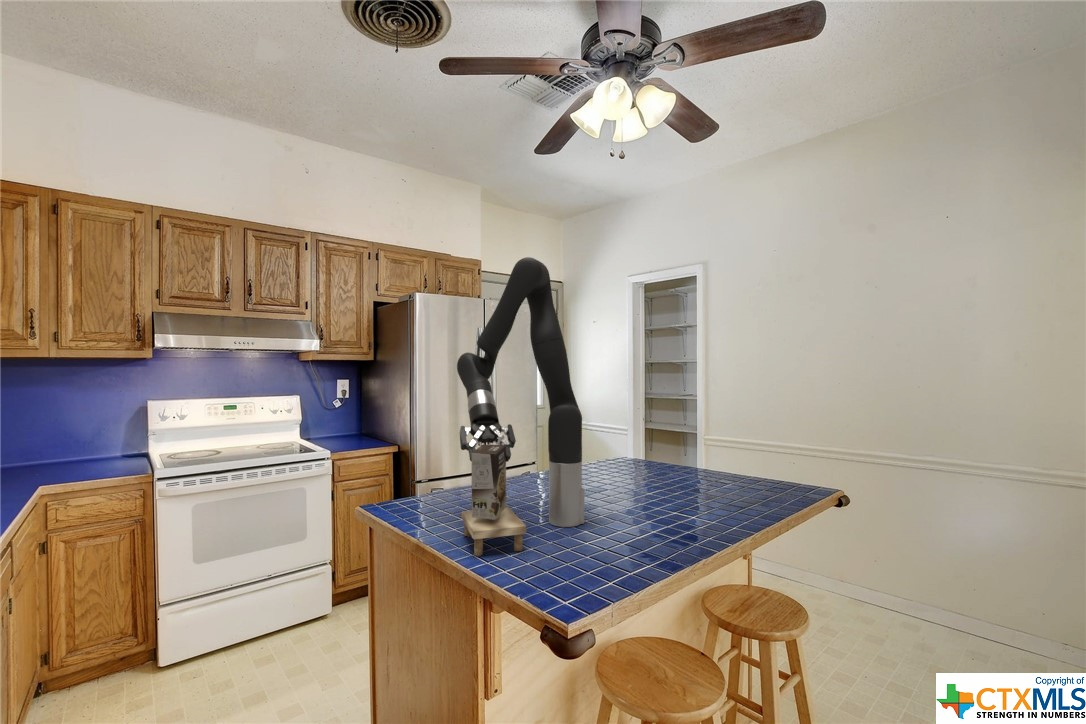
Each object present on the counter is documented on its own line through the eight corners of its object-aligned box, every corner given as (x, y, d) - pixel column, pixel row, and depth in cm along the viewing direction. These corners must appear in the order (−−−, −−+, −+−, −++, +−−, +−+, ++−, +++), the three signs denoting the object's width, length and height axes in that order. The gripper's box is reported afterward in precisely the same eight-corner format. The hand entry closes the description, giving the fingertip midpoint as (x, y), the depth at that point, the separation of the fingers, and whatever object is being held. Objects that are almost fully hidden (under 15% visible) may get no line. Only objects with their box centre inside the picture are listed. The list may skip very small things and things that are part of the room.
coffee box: (496, 520, 120) (496, 453, 118) (471, 518, 121) (470, 452, 120) (507, 506, 128) (507, 444, 127) (483, 504, 130) (482, 443, 128)
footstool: (508, 529, 134) (508, 507, 134) (526, 551, 118) (526, 526, 119) (461, 534, 130) (461, 511, 130) (473, 557, 115) (473, 531, 115)
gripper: (457, 402, 132) (464, 453, 121) (510, 401, 136) (521, 450, 125) (454, 419, 137) (461, 471, 126) (505, 418, 141) (516, 467, 130)
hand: (491, 460), depth 126 cm, fingers closed on coffee box, 8 cm apart
